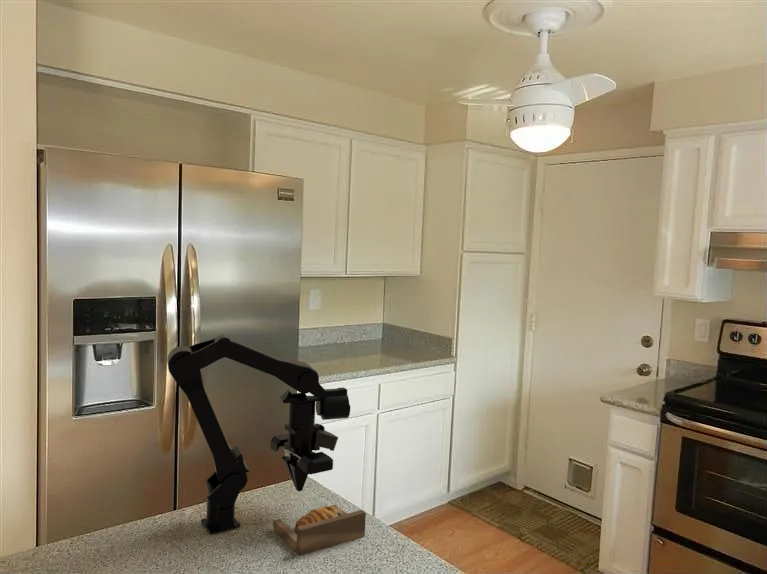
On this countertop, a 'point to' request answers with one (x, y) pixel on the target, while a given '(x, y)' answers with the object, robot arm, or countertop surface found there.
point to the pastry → (317, 516)
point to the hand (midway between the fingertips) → (299, 490)
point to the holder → (323, 531)
